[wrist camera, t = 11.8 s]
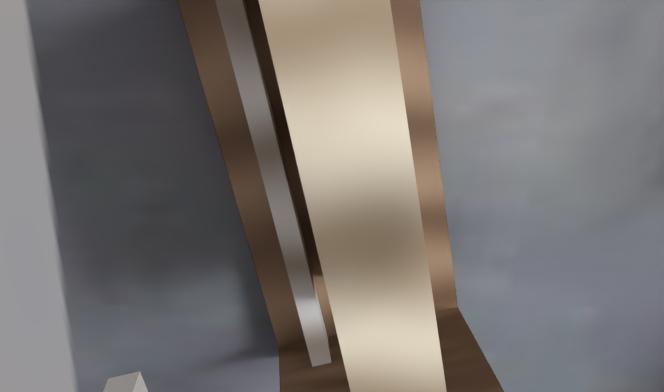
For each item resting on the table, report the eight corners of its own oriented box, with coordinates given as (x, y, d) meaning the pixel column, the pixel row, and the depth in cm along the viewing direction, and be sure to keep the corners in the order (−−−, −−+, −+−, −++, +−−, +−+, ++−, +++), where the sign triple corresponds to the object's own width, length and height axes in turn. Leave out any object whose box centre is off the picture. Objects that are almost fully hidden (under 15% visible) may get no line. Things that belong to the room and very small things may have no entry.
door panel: (384, 263, 35) (453, 439, 22) (330, 275, 35) (366, 460, 22) (328, -47, 28) (382, -54, 15) (259, -32, 28) (252, -26, 15)
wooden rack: (455, 317, 38) (613, 616, 21) (283, 356, 38) (297, 692, 20) (389, -202, 26) (631, -525, 9) (137, -150, 26) (-128, -375, 9)
